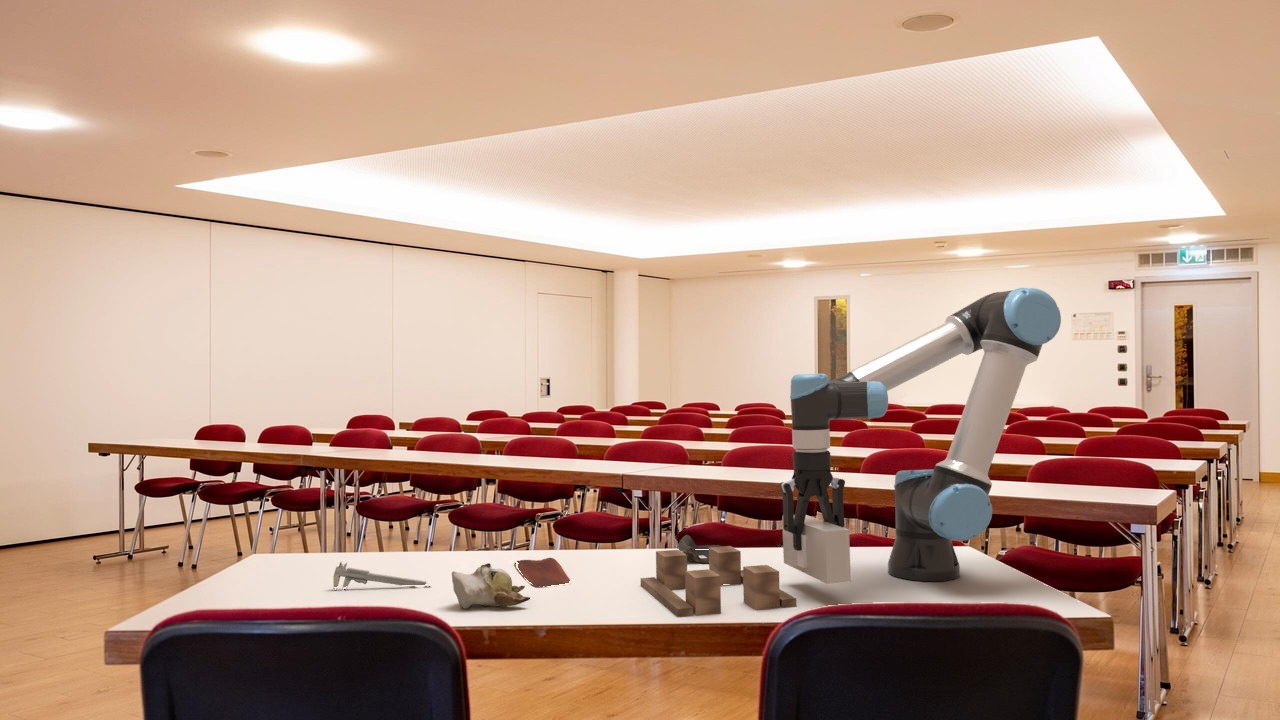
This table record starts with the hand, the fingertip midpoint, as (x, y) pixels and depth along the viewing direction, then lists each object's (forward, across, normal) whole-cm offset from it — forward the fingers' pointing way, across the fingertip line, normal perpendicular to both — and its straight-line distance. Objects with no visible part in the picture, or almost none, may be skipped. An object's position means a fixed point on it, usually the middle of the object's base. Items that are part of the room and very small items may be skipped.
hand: (815, 564), depth 187 cm
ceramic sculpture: (+5, +64, -13) cm, 66 cm away
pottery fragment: (+6, +10, -41) cm, 43 cm away
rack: (+6, +20, -6) cm, 21 cm away
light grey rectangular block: (+1, 0, 0) cm, 1 cm away
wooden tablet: (+6, +50, -37) cm, 63 cm away
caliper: (+5, +84, -34) cm, 91 cm away
